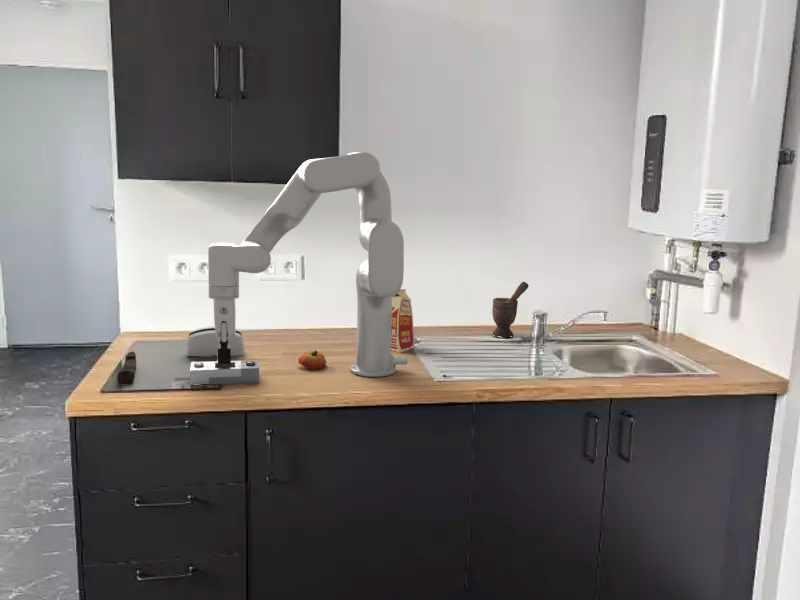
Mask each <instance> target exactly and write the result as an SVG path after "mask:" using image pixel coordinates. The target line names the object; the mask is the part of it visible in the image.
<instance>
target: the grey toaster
mask: <svg viewBox="0 0 800 600" xmlns="http://www.w3.org/2000/svg"><path fill="white" fill-rule="evenodd" d="M218 337H219V336H218ZM187 338H188V339H187V347H186V355H187V356H201V357H209V356H208V355H217V343H216V340H217V339H218V338H217V337H216V333H215V325H212V326H204V327H199V328H195V329H193V330H190V331H189V333H188V337H187ZM230 339H231V340H232V342H231V357H232V356H245V354H246V353H245V347H244V345H245V344H244V340H243V339H244V338H243V333H242V331H241V330H240V329H237V328H235V337H233V336H230ZM187 356H186V357H187Z"/></svg>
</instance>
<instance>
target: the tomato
mask: <svg viewBox="0 0 800 600" xmlns="http://www.w3.org/2000/svg"><path fill="white" fill-rule="evenodd" d="M297 364H300V365H301V366H303V367H305V368H307V369H308V368H309V369H310V370H311V371H314V370H315V371H317V370H319V369H321V368H322V367H326V364H327V361H326V357H325V355H324V354H323V353H322V352H319V351H318V350H315V349H314V350H311V351H305V352H303V353H302V354H301V355H300V357H299V358H298V362H297Z"/></svg>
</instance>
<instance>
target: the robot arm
mask: <svg viewBox="0 0 800 600" xmlns="http://www.w3.org/2000/svg"><path fill="white" fill-rule="evenodd" d="M351 189H354V190H355V191H356V194H357V197H358V203H359V206H358V207H359V235H358V236H359V242H360V245H361V247H362V248H363V249H364V251H367V254H368V255H367V259H365V260H364V261H362V262H361V263H360V265H359V266H358V268H357V270H356V274H355V275H356V276H355V285H356V286H355V287H356V294H357V297H356V298H357V316H356V317H357V318H356V358H355V359H356V360H355V361H356V362H355V363H353V364H352V365H351V366H350V372H351V373H352V374H354V375H357V376H361V377H368V378H369V377H370V378H371V377H373V378H374V377H375V378H377V377H379V378H380V377H388V376H392V375H393V374H395V373H396V371H397V365H401V366H405V365H408V362H409V361H408V358H407V357H401V356H393V355H392V351H391V328H392V297H393V296H394V295H396V294H397V293H398V292H399V290H400V289H402V286H403V283H404V273H405V272H404V269H405V268H404V267H405V263H404V260H405V242H404V235H403V233H402V230H401V228H400V227H399V226H398V224H397V223H395V222H393V221H392V200H391V199H392V197H391V191H390V186H389V184H388V182H387V180H386V178H385V175H383V173H382V171H381V166H380V162H379V160H378V159H377V158H376V156H375V155H373V153H370V152H368V151H358V152H357V151H355V152H350V153H348V154H342V155H339V156H337V155H336V156H331V157H323V158H313V159H308V160H306V161H304V162H303V163H302V164H301V165H300V166H299V167H298V169H297V170H296V171H295V173H294V174H293V175H292V176H291V178H290V179H289V181H288V182H287V184H286V185H285V186H284V187H283V189H282V191H281V192H280V193H279V194H278V196H277V197H276V198H275V200H274V201H273V203H272V204H271V205H270V206H269V207H268V208H267V209H266V211H265V213H264V214H263V215H262V216H261V218H260V219H259V220H258V221H257V223H256V224H255V225H254V227H252V229H251V230H250V232H249V233H248V234H247V236H246V237H245V238H244V239H243V240H242V242H241V244H240V245H237V244H236V243H231V242H230V243H229V242H214V243H212V244H210V245H209V247H208V249H207V250H208V251H207V254H208V257H207V258H208V267H207V268H208V299H211V300H213V320H214V321H213V322H214V326H215V333H216V337H217V338H218V339H219V348H218V364H230V363H231V361H232V359H231V357H232V356H231V348H230V336H233V337H235V329H236V299H239V298H240V272H242V273H248V274H261V273H264V272H265V271H266V270H268V268H269V267H270V265H271V263H272V262H271V261H272V258H271V256H272V255H271V251H272V250H273V249H274V248H275V246H277V244H278V242H279V241H280V240H281V239H282V238H283V237H284V236H285V235H286V234H287V233H288V232H290V231H292V230H293V229H295V228H296V227H298V225H300V224H301V222H302V221H303V220H304V219H305V217H306V215H307V214H308V213H309V212H310V210H311V209H312V207H313V206H314V205H315V203H316V202H317V201H318V200H319V198H320V197H321V196H322V194H325V193H326V194H327V193H335V192H340V191H346V190H351ZM218 336H219V337H218ZM221 339H222V340H221ZM226 339H228V341H227V340H226ZM227 344H228V346H227ZM227 347H228V348H227Z"/></svg>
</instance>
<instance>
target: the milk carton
mask: <svg viewBox="0 0 800 600" xmlns="http://www.w3.org/2000/svg"><path fill="white" fill-rule="evenodd" d="M406 291H407V290H406V289H405V288H401V289H400V290H399V292H398V293H397V294H396V295H394V296H393V297H392V328H391V350H392V351H391V352H394V351H396V352H395V353H398V352H400V353H403V351H404V352H407V351H410V350H412V349H411V348H412V347H414V348H415V329H414V315H413V307H412V299H411V297H410V296H409V295H408V294H407V293H406ZM409 349H410V350H409ZM406 350H407V351H406Z"/></svg>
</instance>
